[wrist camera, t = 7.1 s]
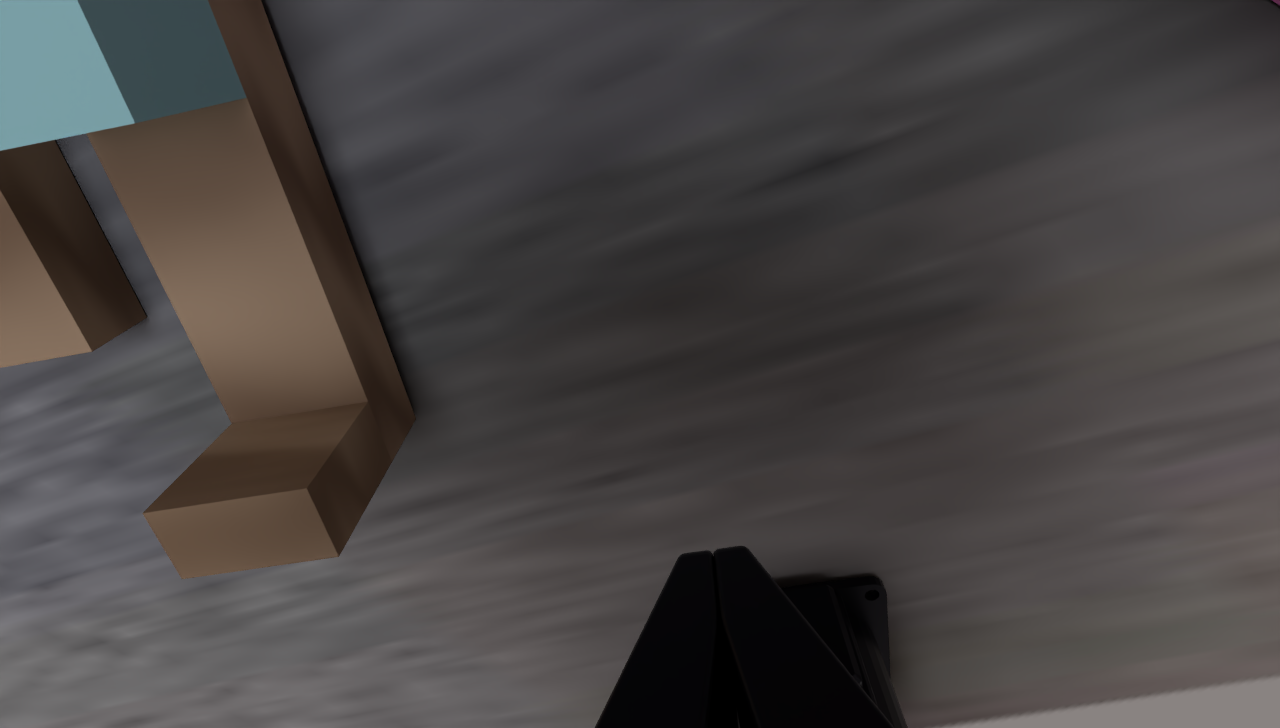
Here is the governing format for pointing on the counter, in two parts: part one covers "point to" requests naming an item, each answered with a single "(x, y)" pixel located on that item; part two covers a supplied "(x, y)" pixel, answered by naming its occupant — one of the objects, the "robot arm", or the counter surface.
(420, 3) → the counter surface
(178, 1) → the cube
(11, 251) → the broken strip
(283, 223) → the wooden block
